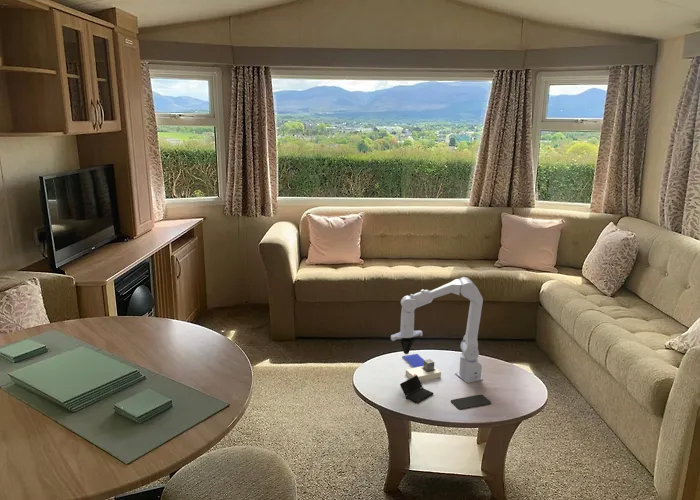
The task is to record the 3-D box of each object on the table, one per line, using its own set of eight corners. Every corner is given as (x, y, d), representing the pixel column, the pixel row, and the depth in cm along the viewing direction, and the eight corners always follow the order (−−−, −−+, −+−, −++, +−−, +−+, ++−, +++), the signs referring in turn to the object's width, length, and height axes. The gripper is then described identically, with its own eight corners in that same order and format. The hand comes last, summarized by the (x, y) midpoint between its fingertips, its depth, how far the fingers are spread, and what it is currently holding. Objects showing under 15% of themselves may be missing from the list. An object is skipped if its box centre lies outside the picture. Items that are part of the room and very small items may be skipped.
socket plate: (440, 377, 236) (441, 371, 235) (414, 382, 231) (415, 376, 230) (430, 369, 243) (431, 363, 242) (405, 374, 238) (405, 368, 237)
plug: (433, 374, 238) (434, 362, 236) (427, 376, 236) (427, 363, 235) (429, 371, 241) (430, 359, 239) (422, 372, 239) (423, 360, 238)
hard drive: (402, 355, 254) (414, 367, 243) (417, 353, 257) (430, 364, 245) (402, 359, 254) (413, 370, 243) (417, 356, 257) (430, 368, 246)
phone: (449, 400, 217) (481, 393, 221) (449, 401, 217) (481, 395, 222) (459, 409, 210) (492, 402, 215) (459, 411, 210) (492, 404, 215)
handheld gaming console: (422, 402, 212) (410, 378, 215) (408, 408, 216) (397, 384, 219) (435, 394, 222) (424, 371, 224) (422, 400, 226) (411, 377, 228)
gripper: (417, 318, 238) (415, 347, 241) (387, 322, 232) (386, 352, 235) (425, 324, 231) (424, 353, 235) (395, 328, 226) (394, 358, 229)
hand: (406, 353), depth 235 cm, fingers closed
